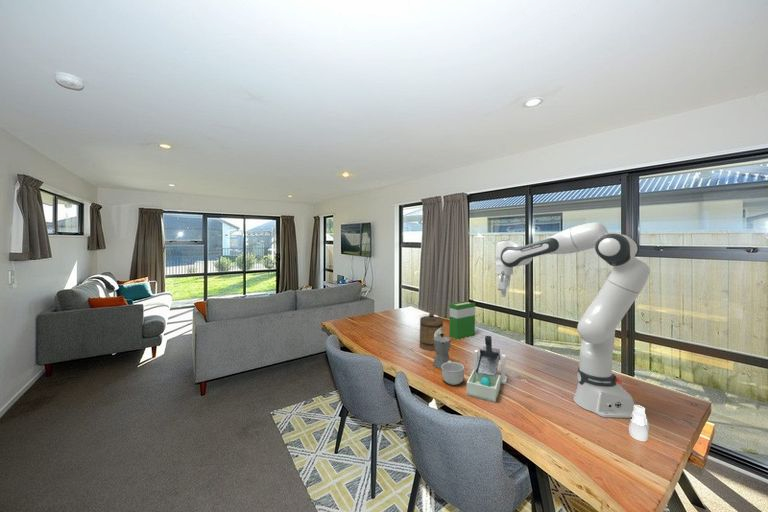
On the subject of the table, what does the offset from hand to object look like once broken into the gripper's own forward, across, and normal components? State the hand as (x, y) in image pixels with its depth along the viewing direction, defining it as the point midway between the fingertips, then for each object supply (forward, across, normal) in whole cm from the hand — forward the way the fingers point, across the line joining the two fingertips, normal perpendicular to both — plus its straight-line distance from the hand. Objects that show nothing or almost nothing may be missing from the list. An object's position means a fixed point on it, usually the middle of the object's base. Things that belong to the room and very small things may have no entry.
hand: (503, 296), depth 155 cm
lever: (+33, -16, +4) cm, 37 cm away
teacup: (+39, -26, +20) cm, 51 cm away
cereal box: (+39, +42, +32) cm, 66 cm away
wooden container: (+39, +13, +45) cm, 61 cm away
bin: (+39, -30, +4) cm, 49 cm away
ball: (+36, -26, +4) cm, 45 cm away
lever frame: (+39, -15, +4) cm, 42 cm away
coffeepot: (+39, -11, +30) cm, 51 cm away
